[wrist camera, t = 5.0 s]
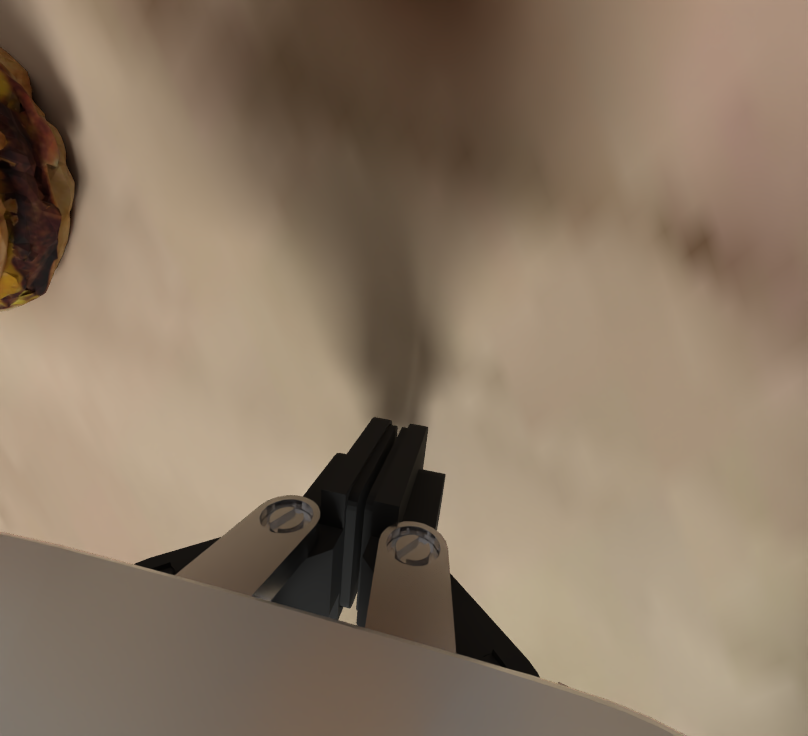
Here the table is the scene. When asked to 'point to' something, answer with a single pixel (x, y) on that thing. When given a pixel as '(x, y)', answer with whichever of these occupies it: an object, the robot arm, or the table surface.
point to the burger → (29, 191)
